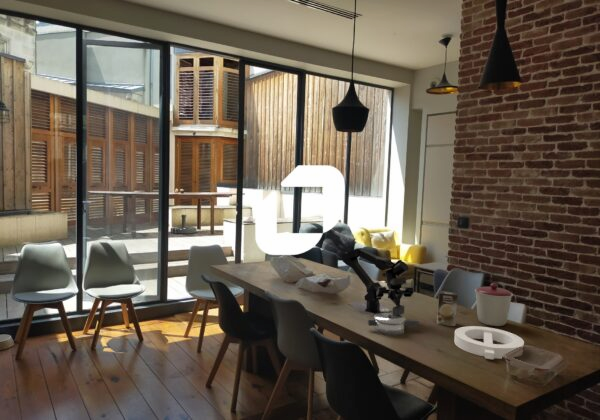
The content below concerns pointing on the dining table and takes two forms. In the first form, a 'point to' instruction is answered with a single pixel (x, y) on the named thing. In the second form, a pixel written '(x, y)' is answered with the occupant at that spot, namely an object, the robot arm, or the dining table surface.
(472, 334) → the ring with crossbar
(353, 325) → the dining table surface
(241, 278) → the dining table surface
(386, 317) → the lid
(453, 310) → the coffee box
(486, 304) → the canister
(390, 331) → the pot
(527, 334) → the dining table surface
